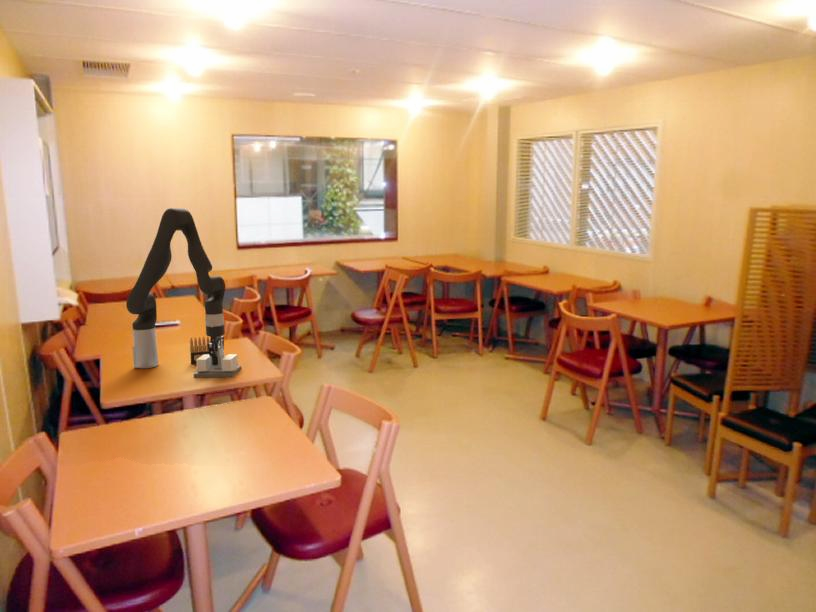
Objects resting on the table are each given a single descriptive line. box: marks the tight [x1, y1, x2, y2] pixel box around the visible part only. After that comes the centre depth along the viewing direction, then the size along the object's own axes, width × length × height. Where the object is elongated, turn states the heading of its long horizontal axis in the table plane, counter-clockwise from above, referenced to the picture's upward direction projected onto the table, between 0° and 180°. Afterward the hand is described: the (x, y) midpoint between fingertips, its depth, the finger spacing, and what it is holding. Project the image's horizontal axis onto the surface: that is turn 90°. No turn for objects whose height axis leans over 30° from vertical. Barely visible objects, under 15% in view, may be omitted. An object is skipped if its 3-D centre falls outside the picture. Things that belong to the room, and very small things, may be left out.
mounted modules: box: [196, 353, 239, 372], centre depth 255 cm, size 14×9×5 cm, turn 88°
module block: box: [210, 347, 225, 368], centre depth 255 cm, size 4×5×8 cm
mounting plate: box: [193, 365, 242, 379], centre depth 256 cm, size 16×13×2 cm
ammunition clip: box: [189, 335, 210, 365], centre depth 273 cm, size 11×2×12 cm, turn 108°
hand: (217, 363), depth 255 cm, fingers closed on module block, 4 cm apart
